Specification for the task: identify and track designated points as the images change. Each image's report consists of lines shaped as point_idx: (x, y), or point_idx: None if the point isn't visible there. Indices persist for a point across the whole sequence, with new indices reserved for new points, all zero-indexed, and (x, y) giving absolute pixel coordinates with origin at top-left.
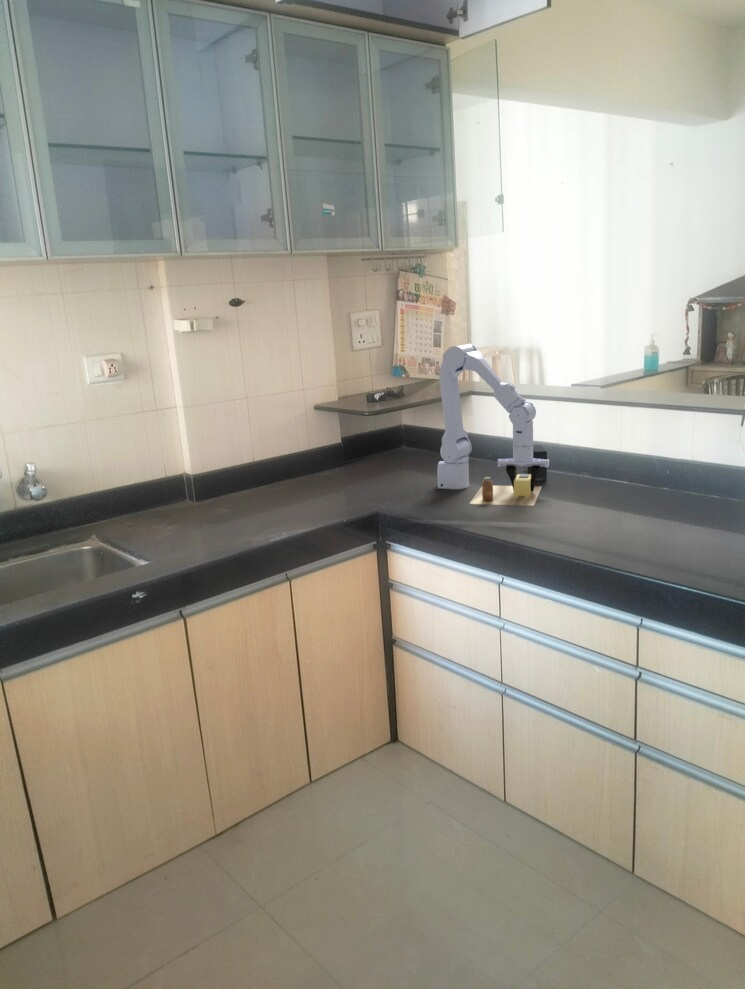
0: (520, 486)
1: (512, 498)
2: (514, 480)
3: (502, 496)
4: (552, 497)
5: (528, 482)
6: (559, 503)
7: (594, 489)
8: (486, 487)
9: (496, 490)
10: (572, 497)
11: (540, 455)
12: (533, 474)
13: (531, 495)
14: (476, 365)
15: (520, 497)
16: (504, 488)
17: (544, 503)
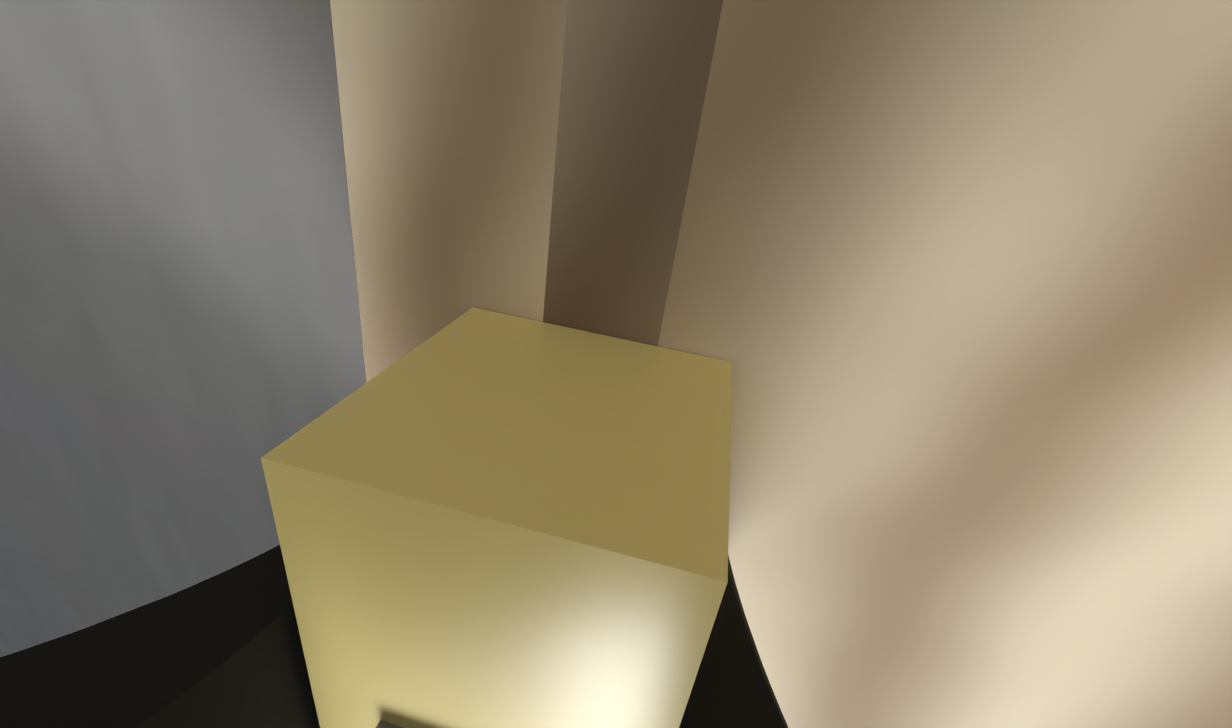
0: (571, 427)
1: (784, 183)
2: (702, 607)
3: (964, 352)
4: (248, 362)
5: (326, 442)
6: (70, 40)
7: (16, 546)
8: None
9: (967, 680)
10: (57, 332)
11: None
12: (74, 698)
13: None
14: None
15: (623, 246)
16: (823, 723)
17: (260, 46)
